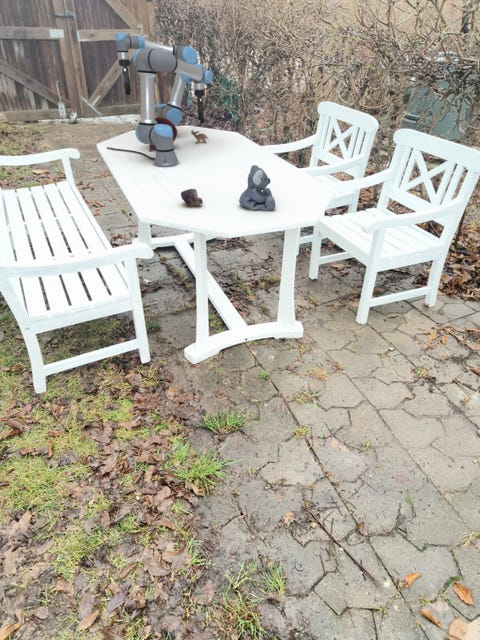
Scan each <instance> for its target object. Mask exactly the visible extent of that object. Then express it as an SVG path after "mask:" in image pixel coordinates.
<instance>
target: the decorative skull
mask: <svg viewBox="0 0 480 640" xmlns="http://www.w3.org/2000/svg"><path fill="white" fill-rule="evenodd" d="M155 121H156V122H157V124H166V125H169V126H170V127H171V128H172V131H173V141H174V142H175V141H176V139H177V135H178V129H177V127H176V125H174V124H173V123H172V122H170V121H169V120H168V119H166V118H162V117H158V116H157V117H155ZM148 146H149V151H148V152H152V149H155V150H156V146H155V145H150V144H148Z"/></svg>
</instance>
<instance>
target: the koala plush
mask: <svg viewBox="0 0 480 640" xmlns="http://www.w3.org/2000/svg"><path fill="white" fill-rule="evenodd" d="M270 183H271V178H269V176H268V175H267V173H266V172H265V170H264V169H263V168H261V167H259V165H257V164H253V165H250V170H249V173H248V176H247V188H246V189H245V190H244V191H243V192H242V193H241V194H240V197H239V199H238V203H239V204H240V206H241V207H242V208H246V209H247V210H252V211H255V210H261V211H272V210H274V209H275V208H276V200H275V198H274V196H273V194H272V191H271V188H270V187H268V186H269V185H270Z"/></svg>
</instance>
